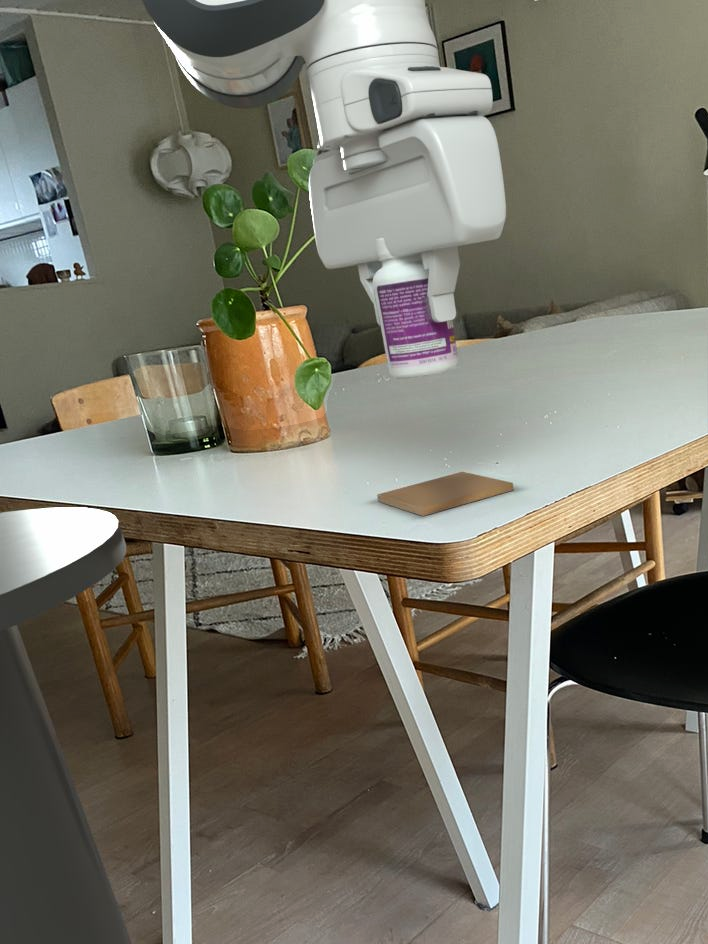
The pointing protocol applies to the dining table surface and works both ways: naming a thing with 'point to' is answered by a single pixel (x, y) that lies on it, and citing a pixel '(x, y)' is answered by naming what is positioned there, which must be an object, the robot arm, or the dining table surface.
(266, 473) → the dining table surface
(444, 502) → the coaster
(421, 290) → the pill bottle
